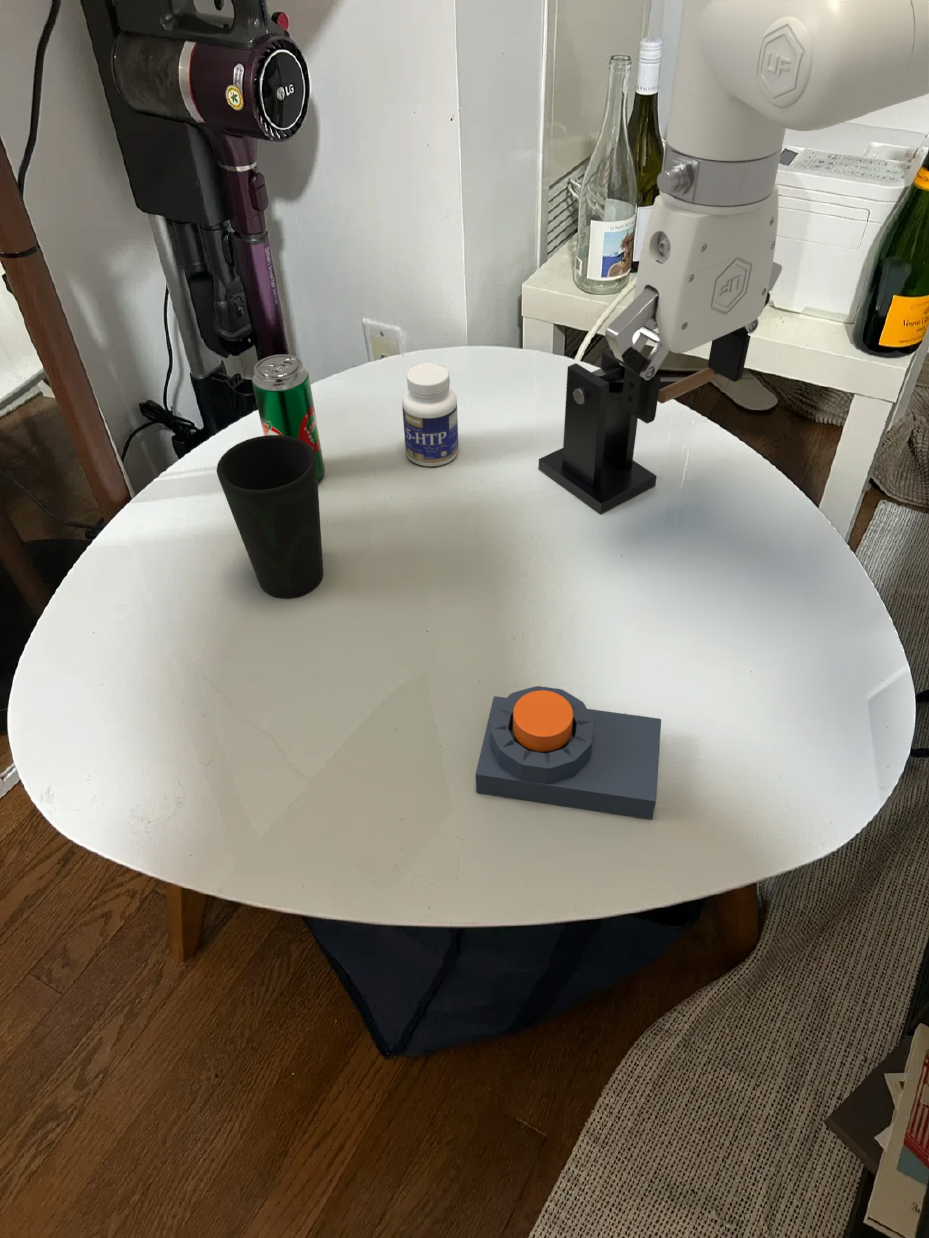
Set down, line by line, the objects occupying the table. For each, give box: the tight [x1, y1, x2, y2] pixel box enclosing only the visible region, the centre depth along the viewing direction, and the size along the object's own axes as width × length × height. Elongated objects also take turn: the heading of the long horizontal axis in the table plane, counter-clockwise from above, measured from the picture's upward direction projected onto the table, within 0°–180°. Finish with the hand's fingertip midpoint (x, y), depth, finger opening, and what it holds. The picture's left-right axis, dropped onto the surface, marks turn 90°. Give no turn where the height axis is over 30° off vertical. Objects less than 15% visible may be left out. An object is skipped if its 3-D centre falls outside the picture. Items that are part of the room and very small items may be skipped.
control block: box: [475, 685, 662, 820], centre depth 64 cm, size 12×7×4 cm, turn 79°
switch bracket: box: [537, 348, 658, 515], centre depth 84 cm, size 9×7×12 cm
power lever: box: [591, 367, 715, 404], centre depth 78 cm, size 12×6×2 cm, turn 36°
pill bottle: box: [401, 362, 459, 467], centre depth 89 cm, size 5×5×9 cm
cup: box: [215, 435, 324, 600], centre depth 76 cm, size 8×8×12 cm
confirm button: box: [513, 690, 573, 752], centre depth 62 cm, size 4×4×2 cm
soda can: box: [251, 354, 325, 481], centre depth 86 cm, size 5×5×12 cm
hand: (681, 394), depth 74 cm, fingers open, 9 cm apart
